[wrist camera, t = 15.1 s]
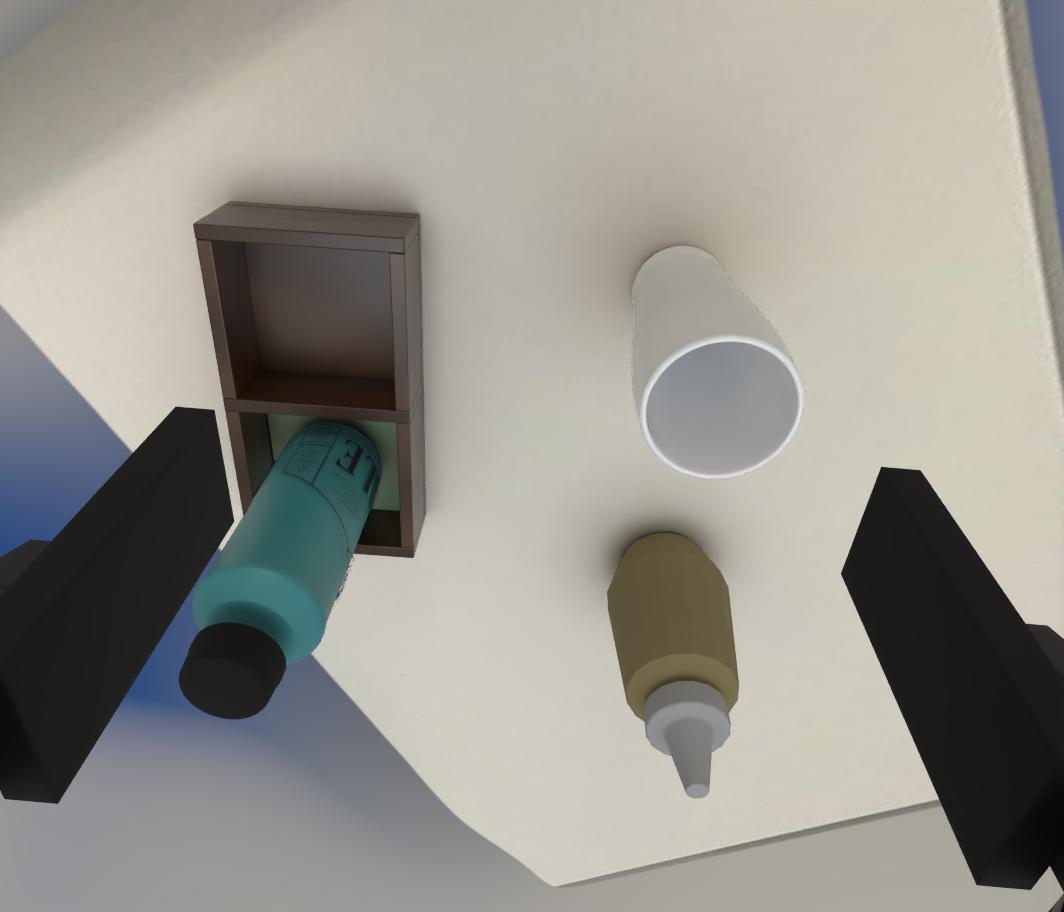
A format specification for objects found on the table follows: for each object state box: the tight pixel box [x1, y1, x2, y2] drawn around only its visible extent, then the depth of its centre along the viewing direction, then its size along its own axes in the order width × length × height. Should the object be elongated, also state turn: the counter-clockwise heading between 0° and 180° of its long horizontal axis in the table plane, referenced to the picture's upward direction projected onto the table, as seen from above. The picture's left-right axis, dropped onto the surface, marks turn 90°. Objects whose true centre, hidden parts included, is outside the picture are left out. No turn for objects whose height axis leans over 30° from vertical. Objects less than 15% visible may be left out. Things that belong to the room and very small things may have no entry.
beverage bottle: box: [179, 422, 383, 719], centre depth 41 cm, size 6×7×20 cm
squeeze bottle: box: [607, 533, 739, 798], centre depth 46 cm, size 8×8×18 cm
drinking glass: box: [631, 246, 805, 479], centre depth 37 cm, size 7×7×15 cm
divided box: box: [193, 201, 426, 558], centre depth 45 cm, size 20×11×5 cm, turn 176°
